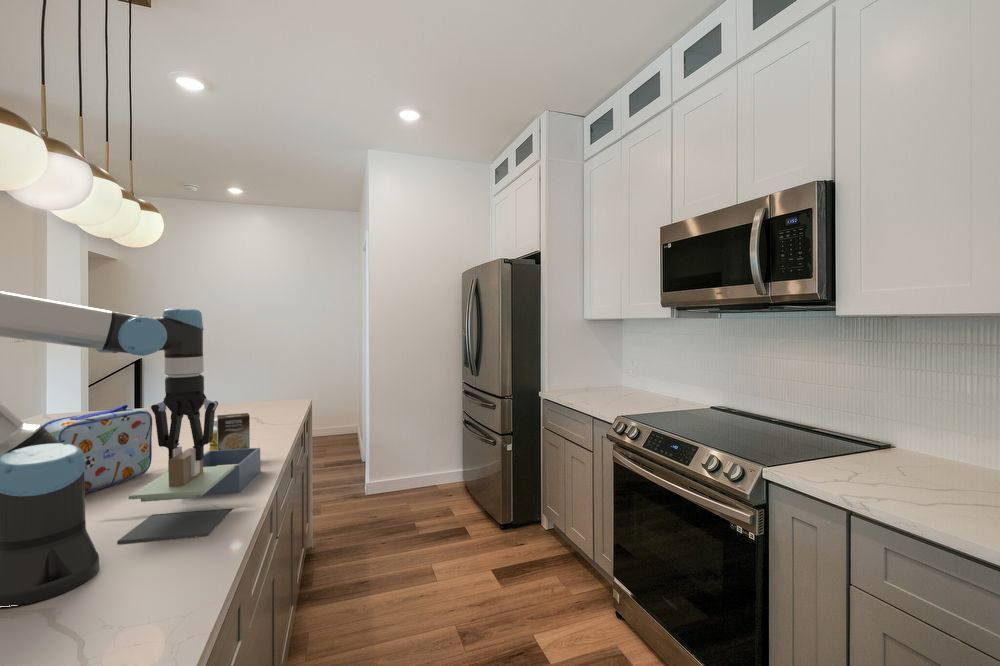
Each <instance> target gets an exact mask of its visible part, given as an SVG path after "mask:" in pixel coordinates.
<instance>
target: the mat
mask: <svg viewBox="0 0 1000 666" xmlns="http://www.w3.org/2000/svg"><path fill="white" fill-rule="evenodd" d="M233 509H234V508H232V507H231V508H222V509H219V508H218V509H208V510H207V509H206V510H196V511H182V512H170V513H158V514H155V513H154V514H151V515H150V516H148V517H147V518H146V519H145V520H143V521H142V522H141V523H139V524H137V525H136V526H135V527H134V528H132V529H131V530H129V532H127V533H126V534H124V535H123V536H122V537H120V538H119V539H118V540H117V541H116V542H117V544H118V545H119V544H129V543H141V542H153V541H163V540H175V539H176V540H177V539H185V537H188V538H196V537H195V536H200V537H207V536H209V535H210V534H211V533H212V532H213V531H214V530H215V529H216V528H217V527H218V525H220V523H222V521H223V520H224V519H225V518H226V517H227V516H228V515H229V514H230V513H229V512H231V511H233ZM228 513H229V514H228ZM227 514H228V515H227ZM226 515H227V516H226ZM225 516H226V517H225ZM223 518H224V519H223ZM215 527H216V528H215ZM214 528H215V529H214Z"/></svg>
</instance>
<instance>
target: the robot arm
mask: <svg viewBox="0 0 1000 666" xmlns="http://www.w3.org/2000/svg"><path fill="white" fill-rule="evenodd" d="M0 338H8V339H15V340H16V339H17V340H24V341H32V342H41V343H48V344H56V345H64V346H71V347H78V348H87V349H95V350H96V351H97V352H98V353H102V354H103V353H105V354H106V353H107V354H108V353H111V354H118V353H123V354H130V355H132V356H141V357H143V356H148V355H149V356H150V355H151V354H154V353H157V352H159V351H163V352H164V355H163V356H164V374H165V375H166V377H165V378H164V392H165V395H164V398H163V401H161V402H158V403H156V404H152V405H151V406H150V409H151V411H152V413H153V414H154V420H155V427H156V434H157V437H156V438H157V444H158V446H159V447H160V448H163V447H164V448H167V450H168V460H170V459H171V458H173V457H175V456H177V455H178V454H180V453H182V452H183V446H181V445H180V443H179V441H180V434H181V429H182V421H183V417H184V416H187V419H188V420H189V426H190V431H191V437H192V441H193V446H192V447H190V448H191V476H196V475H197V474H198V473H200V460H202V459H203V457H204V454H205V452H204V451H205V450H204V449H205V448H204V446H206V445H208V444H210V442H211V441H212V440H213V428H214V419H215V414H216V410H217V408H218V406H219V402H218V401H217V400H215V401H213V400H210V399H207V396H206V395H205V375H202V373H203V374H204V372H205V371H204V323H203V314H202V312H201V311H200V310H198V309H196V308H195V309H194V308H168V309H167V308H166V309H164V310H163V314H162V316H160V317H152V316H148V315H147V316H146V315H134V314H129V313H124V312H118V311H112V310H106V309H102V308H96V307H92V306H91V307H90V306H85V305H79V304H74V303H69V302H68V303H67V302H64V301H63V302H62V301H56V300H51V299H46V298H39V297H34V296H30V295H24V294H23V295H22V294H18V293H13V292H6V291H2V290H1V291H0ZM203 405H204V410H205V412H204V419H203V420H204V422H203V428H202V423H201V418H200V417H201V412H200V409H201V408H202V407H203ZM167 409H168V410H169V411H170V412H171V414H170V425H168V417H167V416H168V415H167V411H166V410H167ZM179 445H180V446H179ZM85 467H86V462H85V459H84V455H83V451H82V450H81V449H80V448H79V447H77V446H74V445H71V444H68V445H66V444H64V443H62V442H61V441H58V440H57V439H56V438H55V437H54V436H53V435H52V434H50V433H49V432H48V431H47V430H46V429H45V428H44V427H43V425H41V424H40V423H25V422H24V421H22V420H21V419H20V418H19V417H18V416H16V415H15V414H14V413H13V412H12V411H11V410H10V409H8V407H6V406H5V405H4V404H3V403H2V402H1V401H0V606H9V605H10V606H11V605H21V606H23V605H22V604H26V605H29V604H28V603H30V604H34V603H37V602H36V601H38V602H41V601H44V600H45V601H46V600H47V599H50V598H54V597H56V596H59V595H62V594H64V593H66V592H69V591H71V590H73V589H75V588H77V587H79V586H80V585H83V584H84V583H86V582H87V581H89V580H90V579H92V578H93V577H94V576H95V575H96V574H97V573H98V572H99V570H100V555H99V553H98V551H97V549H96V547H95V544H94V543H93V541H92V539H91V537H90V535H89V532H88V531H87V527H86V526H87V523H86V493H85V479H84V469H85ZM33 602H34V603H33Z"/></svg>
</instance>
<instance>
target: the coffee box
mask: <svg viewBox="0 0 1000 666" xmlns="http://www.w3.org/2000/svg"><path fill="white" fill-rule="evenodd" d="M216 417H217V450H227V449H246V448H251V447H250V443H251V442H250V437H251V436H250V423H251V422H250V419H251V417H250V414H249V413H248V412H246V413H245V412H243V413H233V414H232V413H230V414H219V415H217V416H216Z"/></svg>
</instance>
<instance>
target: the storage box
mask: <svg viewBox="0 0 1000 666" xmlns="http://www.w3.org/2000/svg"><path fill="white" fill-rule="evenodd" d="M232 464H237V465H235V469H233V470H232V471H231V472H230V473H229V474H227V475H226V476H225V477H224V478H223V479H221V480H220V481H219V482H218V483H217V484H215V485H214V486H213V487H212V488H211V489H210V490H208V491H207V492H206V493H205V494H203V495H202V496H212V495H214V496H215V495H227V494H239V493H240V494H241V492H242V491H243V490H244V489H245V488H246V487H247V486H248V485H249V484H250V483H251V482H252V481H253V480H254V478H256V477H257V476H258V475H259V474H260V473H261V447H250V448H246V449H227V450H210V449H209V450H208V451H206V452H204V457H203V467H212V466H217V465H232Z"/></svg>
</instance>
